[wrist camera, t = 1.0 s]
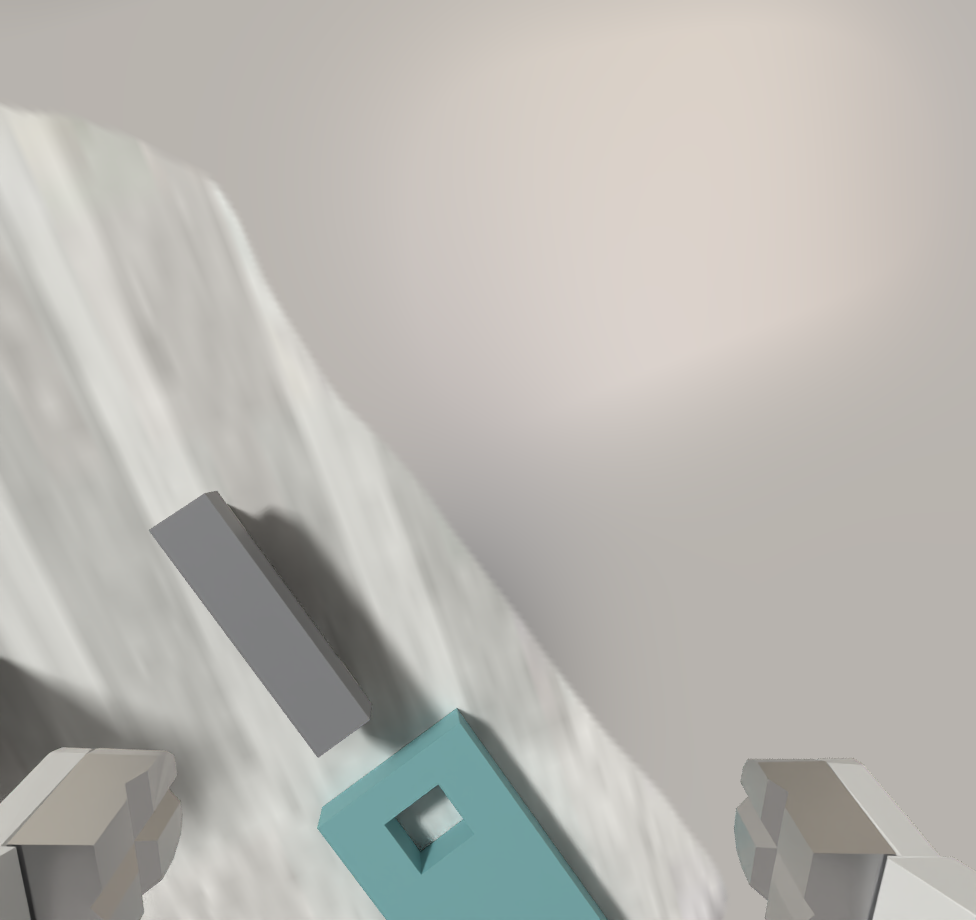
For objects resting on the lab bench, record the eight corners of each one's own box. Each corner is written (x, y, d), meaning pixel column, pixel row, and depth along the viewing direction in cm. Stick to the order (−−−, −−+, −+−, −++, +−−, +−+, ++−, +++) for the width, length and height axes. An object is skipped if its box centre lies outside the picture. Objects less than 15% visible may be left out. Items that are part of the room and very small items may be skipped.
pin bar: (374, 687, 45) (370, 720, 39) (328, 720, 44) (318, 757, 39) (230, 488, 43) (204, 493, 38) (181, 520, 43) (148, 530, 37)
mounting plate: (627, 948, 48) (640, 975, 45) (503, 1049, 46) (509, 1082, 44) (456, 708, 46) (459, 722, 43) (322, 807, 44) (317, 828, 42)
